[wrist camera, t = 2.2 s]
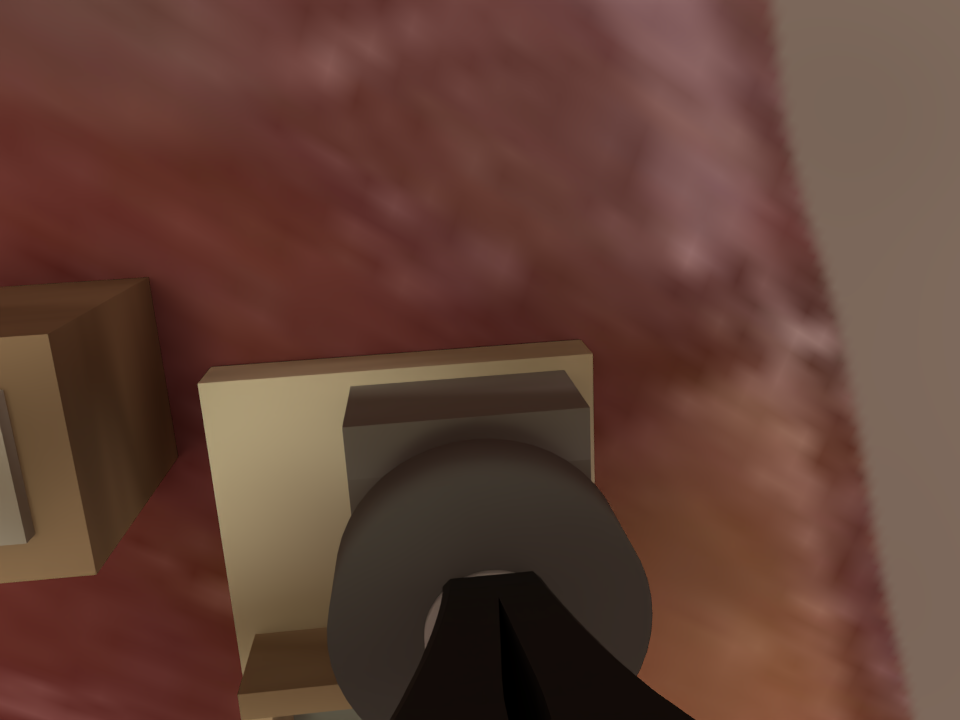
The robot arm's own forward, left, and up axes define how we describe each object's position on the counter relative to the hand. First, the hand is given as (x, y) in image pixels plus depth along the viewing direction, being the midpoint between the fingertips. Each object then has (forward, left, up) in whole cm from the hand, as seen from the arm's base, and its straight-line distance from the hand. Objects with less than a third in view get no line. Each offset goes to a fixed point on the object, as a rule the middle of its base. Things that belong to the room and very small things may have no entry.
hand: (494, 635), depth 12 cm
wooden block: (+2, +8, -7) cm, 11 cm away
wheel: (0, 0, -4) cm, 4 cm away
